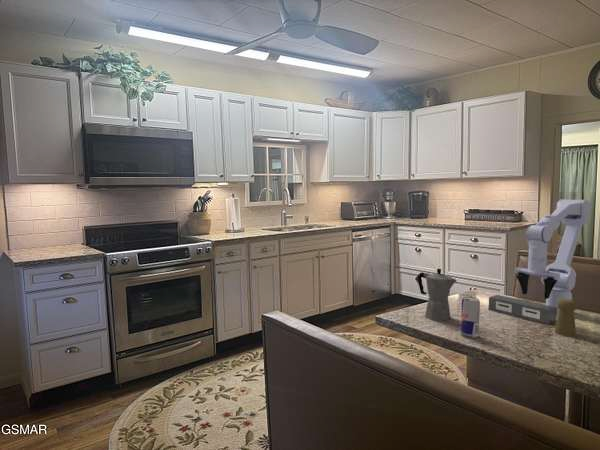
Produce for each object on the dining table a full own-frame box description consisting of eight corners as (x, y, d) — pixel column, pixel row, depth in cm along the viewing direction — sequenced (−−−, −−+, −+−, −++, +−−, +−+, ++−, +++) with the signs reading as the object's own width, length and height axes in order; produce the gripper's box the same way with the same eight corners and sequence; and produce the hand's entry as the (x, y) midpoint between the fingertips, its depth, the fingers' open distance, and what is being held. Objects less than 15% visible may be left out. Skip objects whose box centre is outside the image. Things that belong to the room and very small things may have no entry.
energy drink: (457, 332, 136) (459, 296, 135) (473, 332, 137) (474, 296, 136) (465, 338, 131) (466, 301, 130) (481, 338, 132) (483, 300, 131)
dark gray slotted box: (496, 307, 166) (497, 294, 165) (556, 321, 148) (557, 307, 148) (488, 309, 162) (488, 297, 162) (548, 324, 144) (549, 310, 144)
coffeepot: (460, 318, 152) (462, 269, 150) (448, 324, 145) (450, 273, 144) (422, 309, 163) (423, 264, 161) (409, 314, 156) (410, 267, 155)
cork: (579, 336, 133) (581, 303, 132) (559, 335, 134) (561, 302, 133) (570, 330, 139) (572, 298, 138) (551, 329, 140) (552, 297, 139)
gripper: (511, 257, 153) (509, 293, 154) (554, 262, 141) (552, 302, 142) (521, 255, 157) (519, 290, 158) (563, 260, 145) (561, 298, 146)
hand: (535, 296), depth 150 cm, fingers open, 7 cm apart
